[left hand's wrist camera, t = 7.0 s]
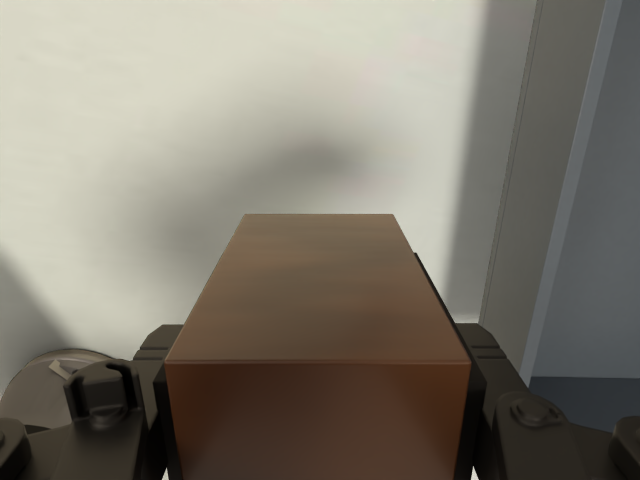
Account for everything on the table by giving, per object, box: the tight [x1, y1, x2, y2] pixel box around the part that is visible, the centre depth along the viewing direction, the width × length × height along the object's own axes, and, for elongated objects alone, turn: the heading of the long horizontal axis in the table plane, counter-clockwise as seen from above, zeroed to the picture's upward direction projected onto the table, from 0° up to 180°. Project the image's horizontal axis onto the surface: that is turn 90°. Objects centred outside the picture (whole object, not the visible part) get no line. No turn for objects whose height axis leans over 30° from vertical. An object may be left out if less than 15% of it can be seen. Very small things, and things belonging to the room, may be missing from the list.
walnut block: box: [164, 214, 472, 480], centre depth 12 cm, size 5×5×8 cm
